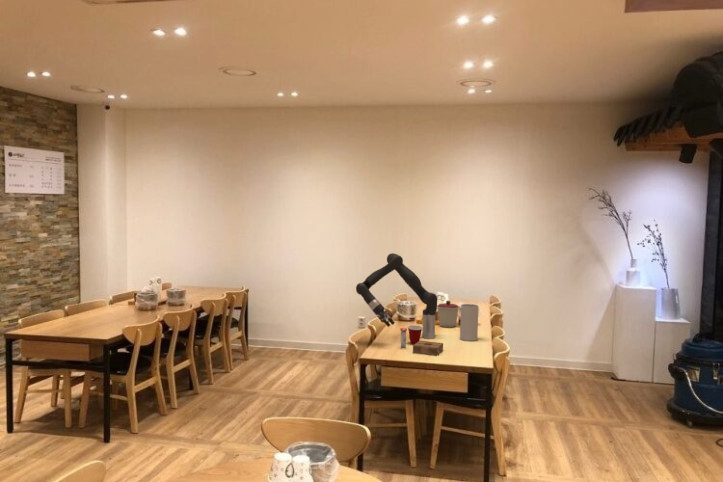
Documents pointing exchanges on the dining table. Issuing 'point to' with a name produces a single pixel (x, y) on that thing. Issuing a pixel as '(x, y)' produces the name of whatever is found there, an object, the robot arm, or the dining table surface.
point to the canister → (447, 314)
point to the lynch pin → (403, 337)
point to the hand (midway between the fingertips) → (391, 324)
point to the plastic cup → (414, 333)
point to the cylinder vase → (469, 322)
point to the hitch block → (428, 348)
